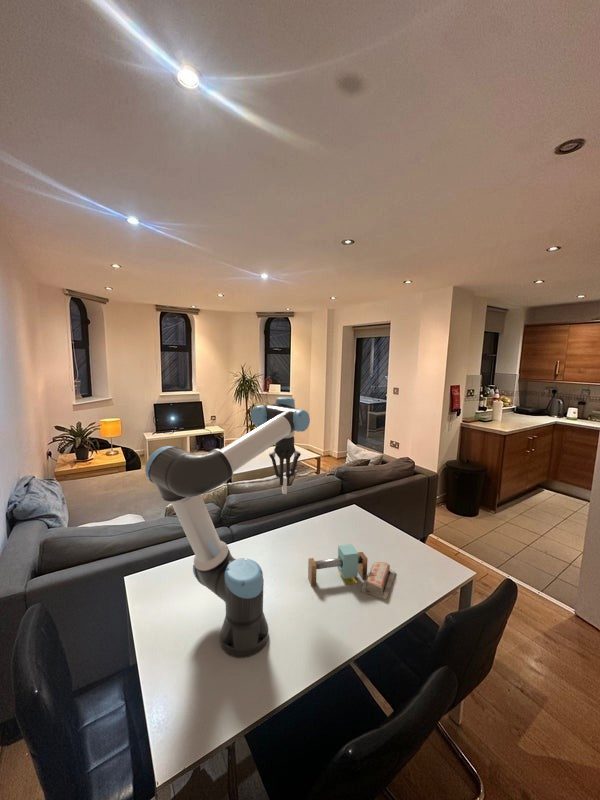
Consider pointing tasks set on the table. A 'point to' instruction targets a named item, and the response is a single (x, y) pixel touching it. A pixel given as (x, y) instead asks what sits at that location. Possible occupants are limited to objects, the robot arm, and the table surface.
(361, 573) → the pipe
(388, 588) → the packaged product
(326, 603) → the table surface
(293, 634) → the table surface
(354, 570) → the collar
